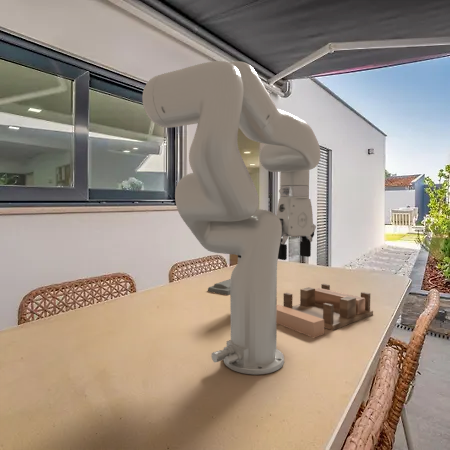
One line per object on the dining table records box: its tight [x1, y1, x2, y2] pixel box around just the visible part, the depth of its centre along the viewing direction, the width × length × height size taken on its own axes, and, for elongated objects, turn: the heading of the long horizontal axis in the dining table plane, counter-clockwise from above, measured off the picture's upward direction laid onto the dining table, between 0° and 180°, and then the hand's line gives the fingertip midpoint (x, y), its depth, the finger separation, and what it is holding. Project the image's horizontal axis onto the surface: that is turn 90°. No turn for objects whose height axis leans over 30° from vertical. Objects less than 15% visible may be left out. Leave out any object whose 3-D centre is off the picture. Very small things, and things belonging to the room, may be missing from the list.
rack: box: [283, 283, 374, 331], centre depth 102 cm, size 20×18×6 cm
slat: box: [277, 304, 325, 339], centre depth 92 cm, size 16×4×4 cm, turn 36°
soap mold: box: [207, 278, 231, 296], centre depth 135 cm, size 10×20×4 cm, turn 145°
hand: (293, 257), depth 92 cm, fingers open, 9 cm apart
